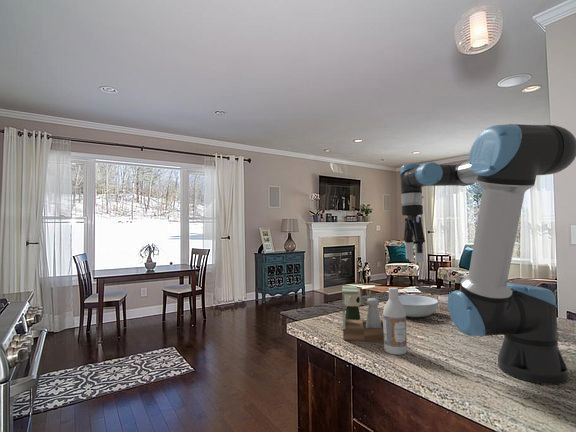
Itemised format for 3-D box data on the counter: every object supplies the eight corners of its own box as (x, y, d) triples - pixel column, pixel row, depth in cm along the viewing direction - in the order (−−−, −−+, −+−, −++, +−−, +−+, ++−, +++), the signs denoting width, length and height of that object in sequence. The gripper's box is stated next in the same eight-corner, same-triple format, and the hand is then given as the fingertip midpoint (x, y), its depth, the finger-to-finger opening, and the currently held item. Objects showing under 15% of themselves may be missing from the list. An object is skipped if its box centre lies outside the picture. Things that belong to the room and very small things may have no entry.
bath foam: (391, 356, 99) (389, 290, 100) (380, 348, 106) (378, 287, 107) (411, 354, 101) (409, 289, 101) (399, 346, 107) (397, 285, 108)
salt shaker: (382, 337, 115) (381, 300, 115) (366, 336, 116) (365, 300, 116) (381, 332, 120) (380, 297, 121) (365, 331, 122) (364, 296, 122)
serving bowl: (409, 307, 160) (408, 293, 160) (448, 316, 142) (448, 300, 142) (379, 313, 149) (378, 298, 149) (418, 324, 131) (417, 307, 131)
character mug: (359, 325, 132) (358, 292, 132) (341, 323, 134) (341, 291, 135) (363, 317, 142) (362, 288, 142) (347, 316, 144) (346, 287, 145)
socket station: (393, 342, 111) (391, 292, 112) (343, 340, 114) (342, 291, 115) (388, 331, 123) (387, 286, 124) (343, 329, 126) (342, 285, 127)
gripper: (432, 201, 111) (435, 263, 110) (413, 207, 136) (415, 257, 135) (410, 202, 112) (412, 263, 111) (395, 207, 137) (397, 257, 136)
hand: (414, 260), depth 123 cm, fingers open, 13 cm apart
